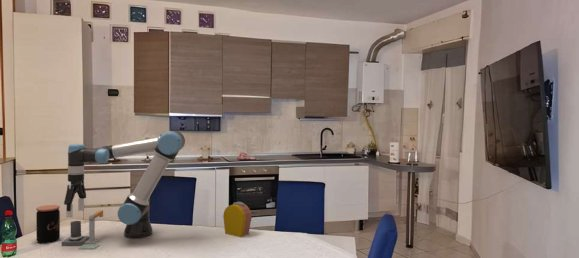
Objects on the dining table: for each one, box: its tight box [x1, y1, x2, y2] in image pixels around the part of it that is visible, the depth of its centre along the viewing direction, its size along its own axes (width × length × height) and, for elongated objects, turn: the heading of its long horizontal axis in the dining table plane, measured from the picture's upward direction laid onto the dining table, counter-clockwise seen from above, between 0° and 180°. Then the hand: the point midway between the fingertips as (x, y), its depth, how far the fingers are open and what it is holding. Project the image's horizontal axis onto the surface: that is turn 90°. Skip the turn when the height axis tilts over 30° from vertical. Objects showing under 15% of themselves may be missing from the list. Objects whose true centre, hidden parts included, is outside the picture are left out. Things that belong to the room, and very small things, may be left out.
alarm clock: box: [222, 201, 253, 238], centre depth 228 cm, size 15×8×18 cm, turn 58°
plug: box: [69, 220, 83, 241], centre depth 207 cm, size 6×6×11 cm
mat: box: [77, 243, 100, 250], centre depth 201 cm, size 8×6×1 cm
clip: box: [88, 209, 104, 221], centre depth 213 cm, size 14×3×4 cm, turn 5°
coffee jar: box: [35, 204, 61, 244], centre depth 209 cm, size 11×11×18 cm
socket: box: [61, 220, 99, 247], centre depth 207 cm, size 15×10×12 cm, turn 95°
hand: (75, 213), depth 207 cm, fingers open, 13 cm apart
